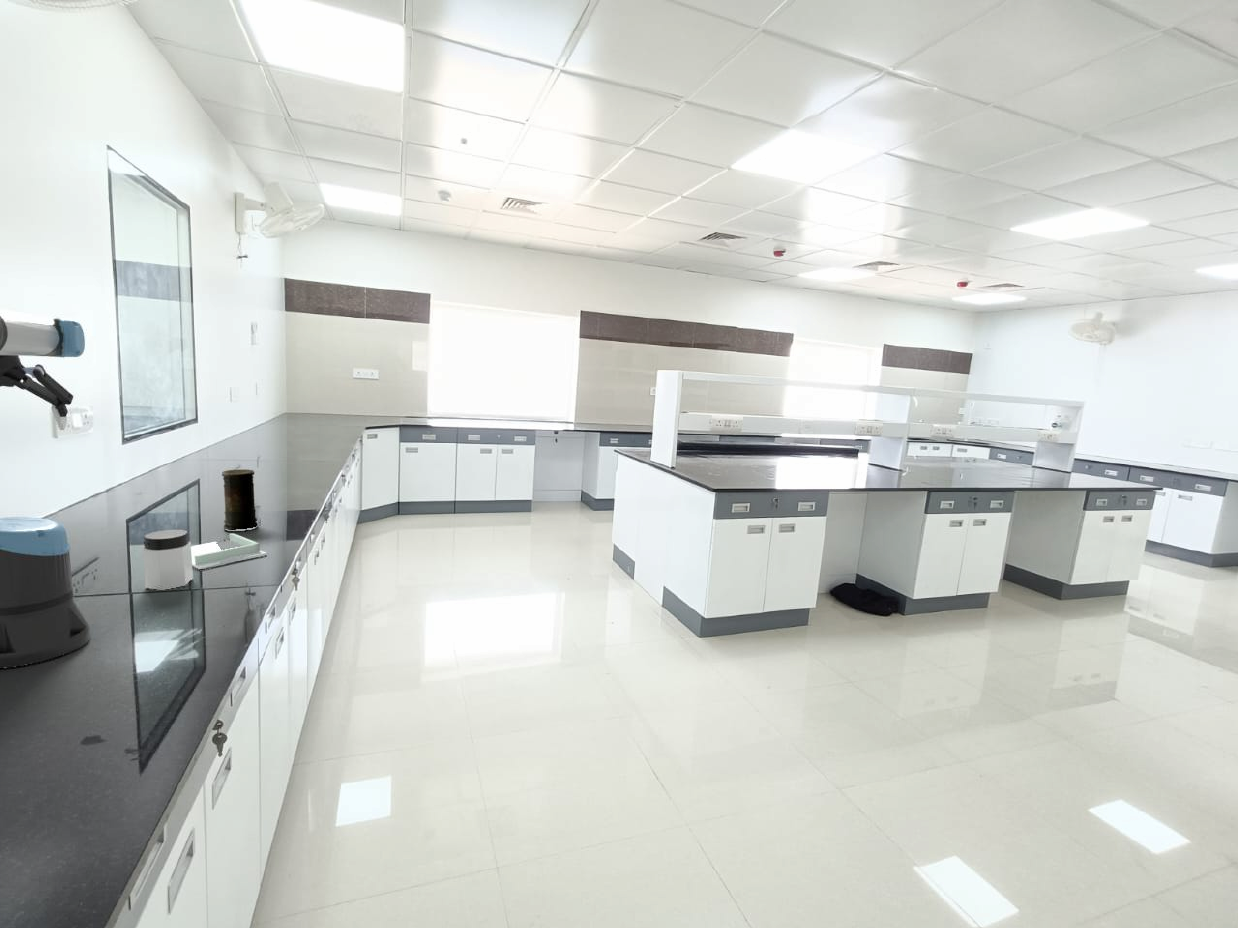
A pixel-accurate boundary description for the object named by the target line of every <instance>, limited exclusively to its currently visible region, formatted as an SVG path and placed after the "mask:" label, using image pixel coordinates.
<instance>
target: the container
mask: <svg viewBox="0 0 1238 928" xmlns="http://www.w3.org/2000/svg"><path fill="white" fill-rule="evenodd" d="M254 475H255V471H254V470H253V469H242V468H241V469H227V470H224V471H222V472H221V476H222V477H223V478H222V479H223V489H224V490H223V493H224V494H223V495H224V521H223V523H224V525H223V530H224V529H228V530H236V529H247V528H253V527H256V526H257V525H259V524H258V522H257V521H258V519H257V517H256V516H257V515H256V508H255V507H256V506H255V504H256V503H255V484H254V477H255V476H254ZM257 527H258V526H257Z"/></svg>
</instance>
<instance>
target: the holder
mask: <svg viewBox="0 0 1238 928" xmlns="http://www.w3.org/2000/svg"><path fill="white" fill-rule="evenodd" d="M228 536H229V538H228V539H230V541H233V542H235V543H238V544H240V545H242V546H240V547H235V548H230V549H225V550H221V549H220V547H219V546H218V544H216V543H217V542H216V541H212V542H207V543H202V544H197V545H196V544H195V545H191V555H192V566H194V567H196V568H198V569H202V568H206V567H209V566H212V565H215V564H219V563H220V562H219V561H226V558H230V557H234V556H240V555H245V554H248V556H247V557H251V556H258V555H264V554H267V555H268V553H267V552H266V551H263V550H261V543H260V542H256V541H254V540H251V539H250V538H246V537H244V536H241V535H239V534H237V533H235V532H231V533H228ZM249 554H250V555H249ZM244 558H246V555H245V557H244Z"/></svg>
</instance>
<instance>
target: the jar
mask: <svg viewBox="0 0 1238 928" xmlns="http://www.w3.org/2000/svg"><path fill="white" fill-rule="evenodd" d="M189 540H190V539H189V532H188V530H184V529H165V530H157V531H153V532H149V533H147V534H144V536H143V546H144V547H143V548H142V559H143V561H142V562H143V563H142V564H143V573H144V584H145V585H144V586H145V589H147V588H149V589H148V590H153V589H157V590H156V591H159V590H164V591H166V590H165V589H169V590H172V589H171V588H174V589H177V588H176V587H180V586H184V585H186V584H187V583H188V582H189V581H190V580H192V579H193V580H194V572H193V567H192V555H191V546H192V542H191V541H189ZM193 580H192V581H193ZM187 585H188V584H187ZM187 585H186V586H187ZM180 588H181V587H180Z"/></svg>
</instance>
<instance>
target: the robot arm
mask: <svg viewBox="0 0 1238 928" xmlns="http://www.w3.org/2000/svg"><path fill="white" fill-rule="evenodd" d="M85 339H86V338H85V332H84V329H83V327H82V325H81V323H80V322H79V321H78V320H76V319H73V318H72V319H71V318H62V317H47V316H37V315H34V314H33V315H32V314H27V313H22V312H15V311H10V310H4V309H0V387H5V388H7V387H8V388H14V387H17V388H18V389H20V390H23V391H24V390H25V391H27V392H30V394H33V395H35V396H36V397H38V398H40V399H42V400H44V401H45V402H47V403H49V404H51V412H52V414H53V416H54V418H55V421H56V425H57V427H58V429H59V431H64V430H65V429H66V426H67V424H68V423H67V419H66V417H67V414H68V413H69V411H68V408H67V406H68V405H69V406H70V405H72V402H73V399H74V395H73V394H72V393H71V392H69V391H68V390H67V389H66V388H65V387H64V386H62V385H61V384H60V382H58V381H56V380H55V379H54V378H53V377H52V376H51V375H50V374H48V373H47V372H46V369H45V368H44V366H43V365H42V364H40V363H39V364H35V366H29V367H25V366H24V365H23V364H22V362H21V360H20V356H21V357H22V356H25V357H27V356H29V357H31V356H32V357H48V358H49V357H50V358H51V357H53V358H78V357H81V356H82V355H83V354H84V352H85V349H86V348H85V347H86V340H85ZM29 375H30V376H29ZM34 379H36V380H37V382H36V381H35V380H34ZM67 536H68V535H67V531H66V528H65V527H64V526H63V525H62V524H61V523H59V522H57V521H54V520H52V519H47V518H42V517H29V516H10V517H9V516H7V517H5V516H4V517H2V518H0V668H4V667H14V666H21V667H23V666H22V665H25V664H31V663H36V664H38V663H37V662H40V663H42V662H41V661H44V662H46V661H45V660H48V661H50V660H49V659H51V660H53V659H52V658H54V659H56V658H55V657H57V658H59V657H58V656H60V657H62V656H61V655H63V654H66V653H68V654H70V653H72V652H71V651H73V650H75V649H77V650H79V649H81V648H82V647H83V646H85V645H86V644H87V643H88V642H89V641H90V639H91V630H90V629H91V628H90V624H89V623H88V621H87V619H86V618H85V615H84V614H83V613H82V611H81V609H80V607H79V606H78V604H77V602H76V601H75V598H74V589H73V587H74V586H73V578H72V566H71V557H70V556H71V555H70V551H71V545H70V544H69V541H68V537H67ZM78 648H79V649H78ZM75 651H76V650H75ZM69 652H70V653H69ZM73 652H74V651H73ZM66 655H67V654H66ZM63 656H64V655H63ZM31 665H32V664H31ZM14 668H15V667H14ZM4 669H5V668H4Z"/></svg>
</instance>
